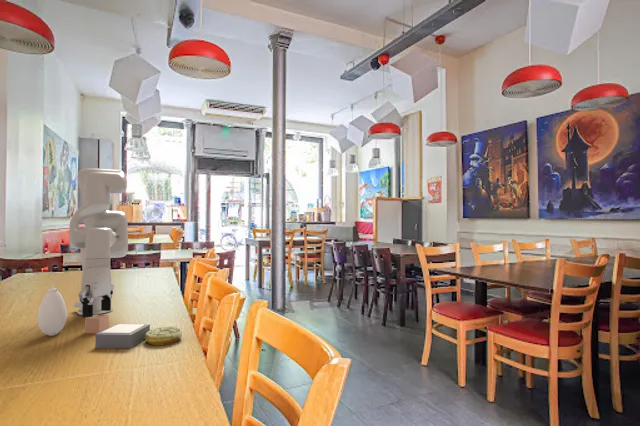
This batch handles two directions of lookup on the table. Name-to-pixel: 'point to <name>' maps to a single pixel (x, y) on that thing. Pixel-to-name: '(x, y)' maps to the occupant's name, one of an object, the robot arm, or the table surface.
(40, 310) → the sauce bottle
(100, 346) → the grey flat square block
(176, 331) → the decorated donut
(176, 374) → the table surface
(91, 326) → the terracotta cube
